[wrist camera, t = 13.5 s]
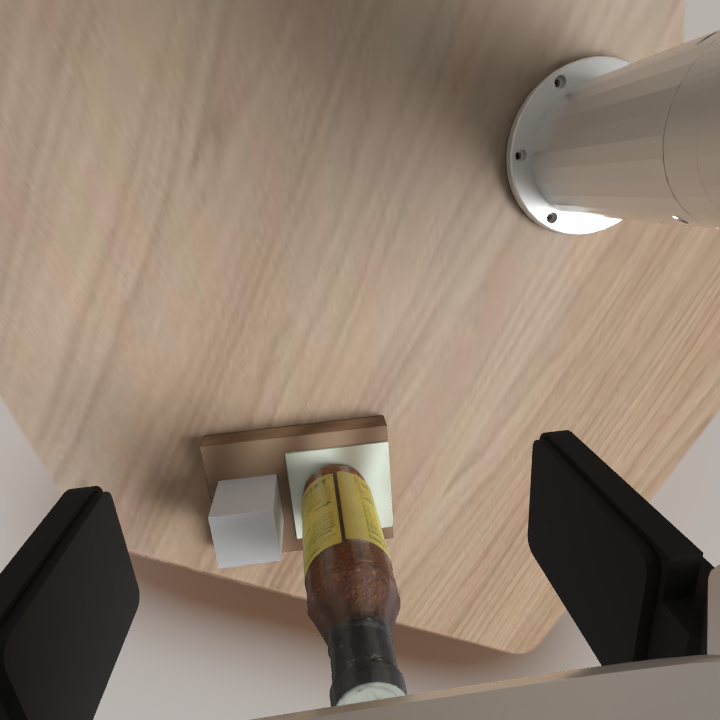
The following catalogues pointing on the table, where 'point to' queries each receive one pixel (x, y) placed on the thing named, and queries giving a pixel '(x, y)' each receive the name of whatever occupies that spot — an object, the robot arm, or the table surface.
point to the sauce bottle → (350, 585)
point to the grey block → (247, 521)
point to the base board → (304, 463)
